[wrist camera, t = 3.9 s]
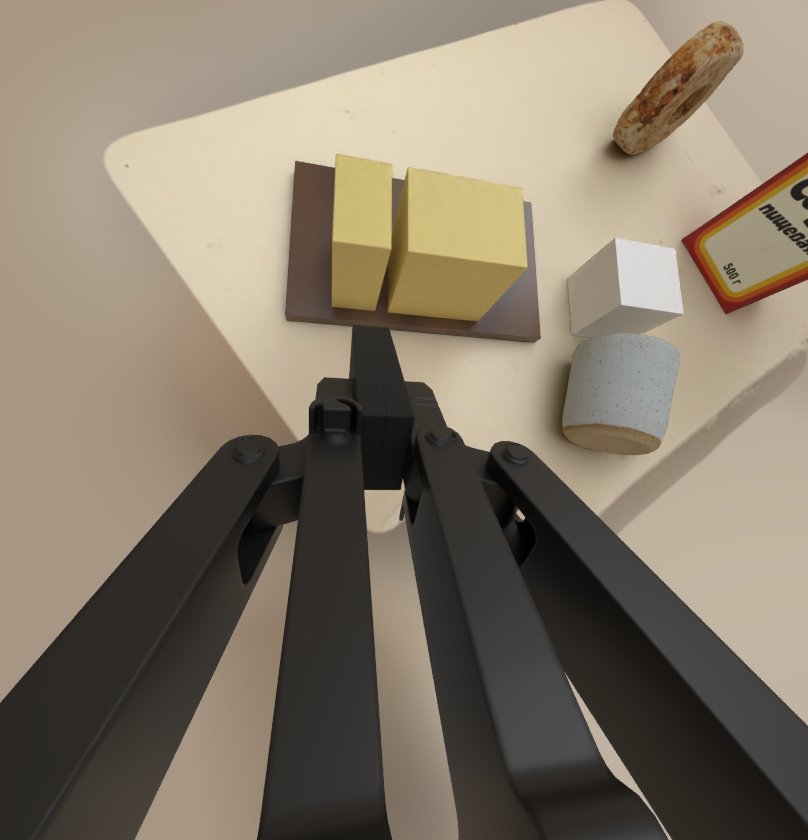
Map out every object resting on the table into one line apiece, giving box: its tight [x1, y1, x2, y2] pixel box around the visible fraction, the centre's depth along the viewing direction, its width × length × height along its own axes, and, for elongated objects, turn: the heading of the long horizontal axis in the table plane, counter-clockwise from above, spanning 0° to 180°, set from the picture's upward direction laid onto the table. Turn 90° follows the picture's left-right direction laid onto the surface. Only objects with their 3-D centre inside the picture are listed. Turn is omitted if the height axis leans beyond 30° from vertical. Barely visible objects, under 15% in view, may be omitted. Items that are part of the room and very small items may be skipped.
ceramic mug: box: [562, 333, 680, 455], centre depth 29 cm, size 11×8×8 cm
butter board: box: [285, 161, 541, 342], centre depth 31 cm, size 22×14×1 cm, turn 90°
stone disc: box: [613, 21, 743, 155], centre depth 35 cm, size 10×4×10 cm, turn 122°
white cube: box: [568, 238, 683, 338], centre depth 32 cm, size 6×6×6 cm
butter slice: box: [332, 154, 392, 311], centre depth 25 cm, size 4×6×8 cm, turn 0°
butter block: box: [387, 167, 528, 321], centre depth 26 cm, size 8×6×8 cm
